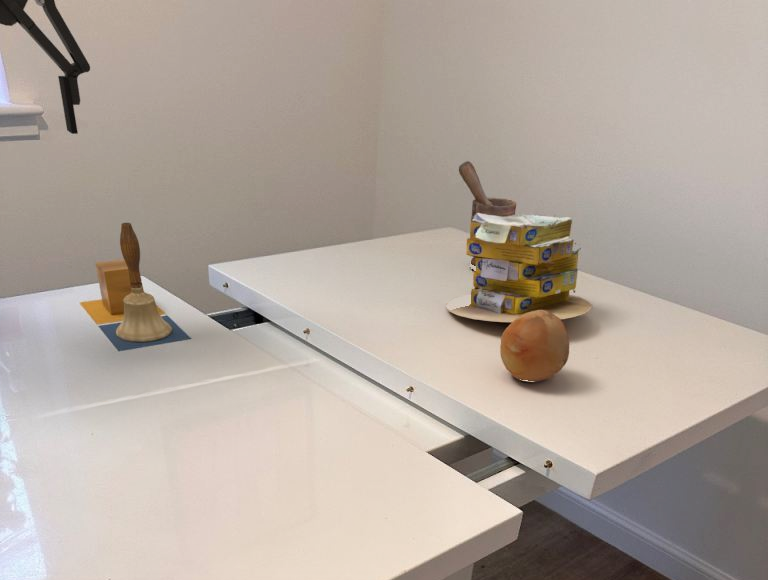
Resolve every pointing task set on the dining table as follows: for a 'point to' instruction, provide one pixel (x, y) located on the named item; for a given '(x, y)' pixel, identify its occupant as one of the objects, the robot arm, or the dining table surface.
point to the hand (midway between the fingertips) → (19, 133)
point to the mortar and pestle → (484, 197)
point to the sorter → (103, 316)
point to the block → (113, 284)
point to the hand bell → (138, 298)
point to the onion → (535, 346)
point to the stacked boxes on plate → (522, 268)
